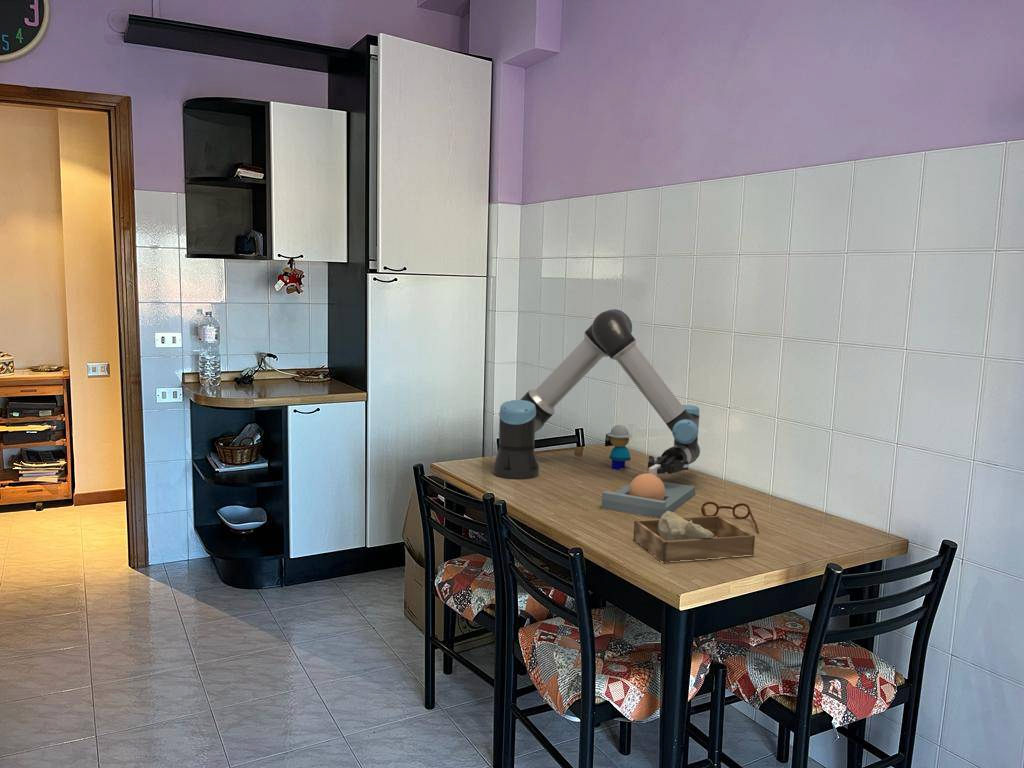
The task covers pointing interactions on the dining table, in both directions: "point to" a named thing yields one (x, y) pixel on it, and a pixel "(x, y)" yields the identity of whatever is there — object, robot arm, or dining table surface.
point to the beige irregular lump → (680, 528)
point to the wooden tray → (696, 540)
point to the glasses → (732, 509)
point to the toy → (618, 446)
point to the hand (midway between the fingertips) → (650, 473)
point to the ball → (647, 487)
